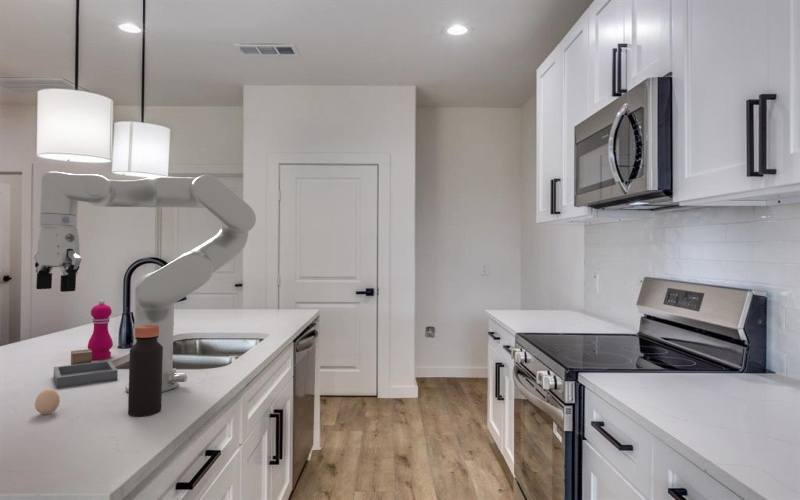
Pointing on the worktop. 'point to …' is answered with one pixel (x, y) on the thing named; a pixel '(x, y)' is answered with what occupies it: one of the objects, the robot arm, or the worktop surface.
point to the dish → (84, 374)
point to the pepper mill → (100, 332)
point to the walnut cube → (81, 356)
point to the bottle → (145, 372)
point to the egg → (47, 401)
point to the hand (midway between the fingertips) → (55, 290)
